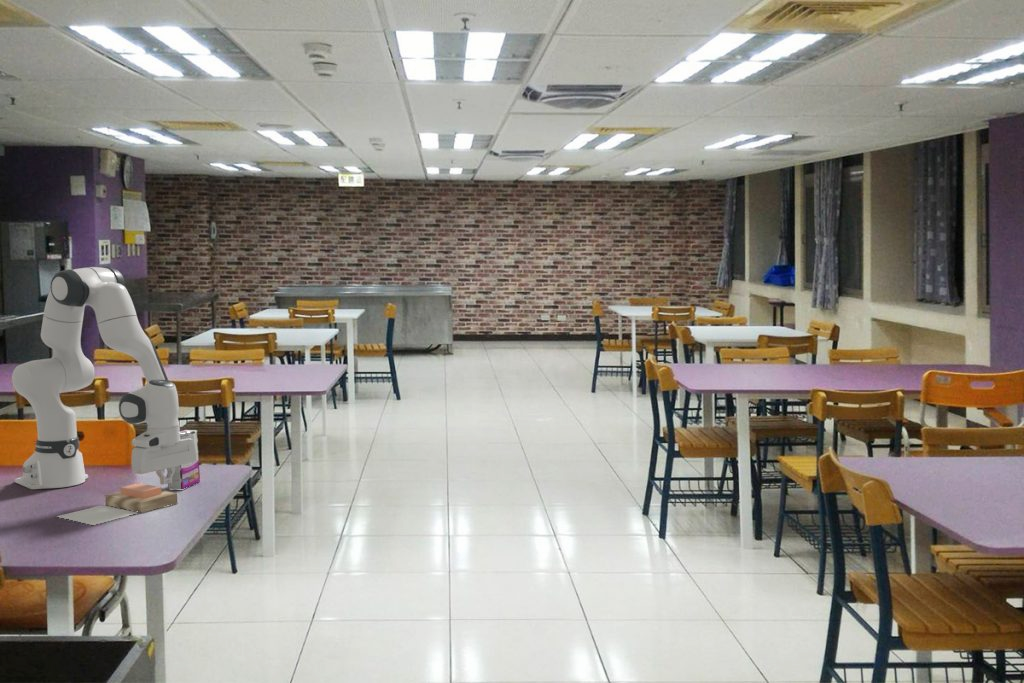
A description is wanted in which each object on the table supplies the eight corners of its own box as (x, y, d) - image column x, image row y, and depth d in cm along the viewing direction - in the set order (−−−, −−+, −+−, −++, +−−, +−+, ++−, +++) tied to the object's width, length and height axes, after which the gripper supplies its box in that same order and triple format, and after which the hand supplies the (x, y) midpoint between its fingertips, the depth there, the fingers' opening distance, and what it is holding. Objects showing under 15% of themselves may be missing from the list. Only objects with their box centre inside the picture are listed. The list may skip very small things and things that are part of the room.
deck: (105, 505, 294) (105, 495, 294) (141, 496, 304) (141, 486, 304) (141, 513, 285) (140, 502, 285) (177, 503, 295) (177, 493, 295)
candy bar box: (185, 481, 323) (183, 429, 321) (200, 482, 322) (198, 430, 320) (166, 490, 312) (164, 436, 310) (182, 491, 311) (179, 436, 309)
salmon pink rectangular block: (121, 494, 295) (120, 487, 295) (139, 489, 300) (138, 483, 300) (143, 498, 289) (143, 491, 289) (161, 494, 294) (161, 487, 294)
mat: (56, 517, 282) (56, 516, 282) (102, 506, 294) (102, 505, 294) (92, 525, 273) (92, 524, 273) (138, 514, 285) (138, 512, 285)
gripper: (186, 429, 310) (188, 475, 312) (127, 441, 294) (129, 489, 295) (200, 431, 307) (202, 477, 308) (141, 443, 290) (143, 491, 291)
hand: (166, 483), depth 301 cm, fingers closed
